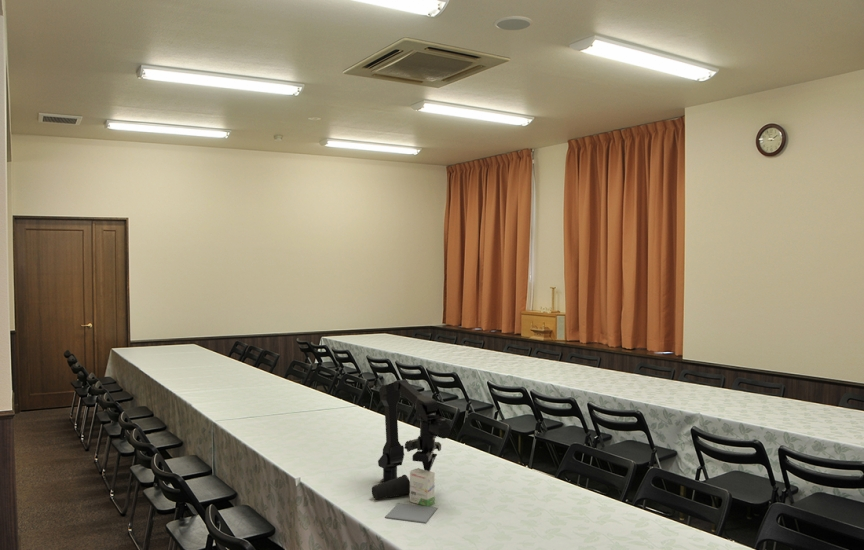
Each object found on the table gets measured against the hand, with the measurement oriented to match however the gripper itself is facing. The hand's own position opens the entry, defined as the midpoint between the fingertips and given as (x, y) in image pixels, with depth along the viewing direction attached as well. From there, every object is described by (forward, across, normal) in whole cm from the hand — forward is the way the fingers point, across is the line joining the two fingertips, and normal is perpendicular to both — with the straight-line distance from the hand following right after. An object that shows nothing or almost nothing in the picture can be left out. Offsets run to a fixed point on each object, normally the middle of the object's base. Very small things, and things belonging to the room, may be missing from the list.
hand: (427, 474), depth 242 cm
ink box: (+9, +5, 0) cm, 11 cm away
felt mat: (+9, +17, -1) cm, 19 cm away
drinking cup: (+6, +8, -18) cm, 21 cm away
